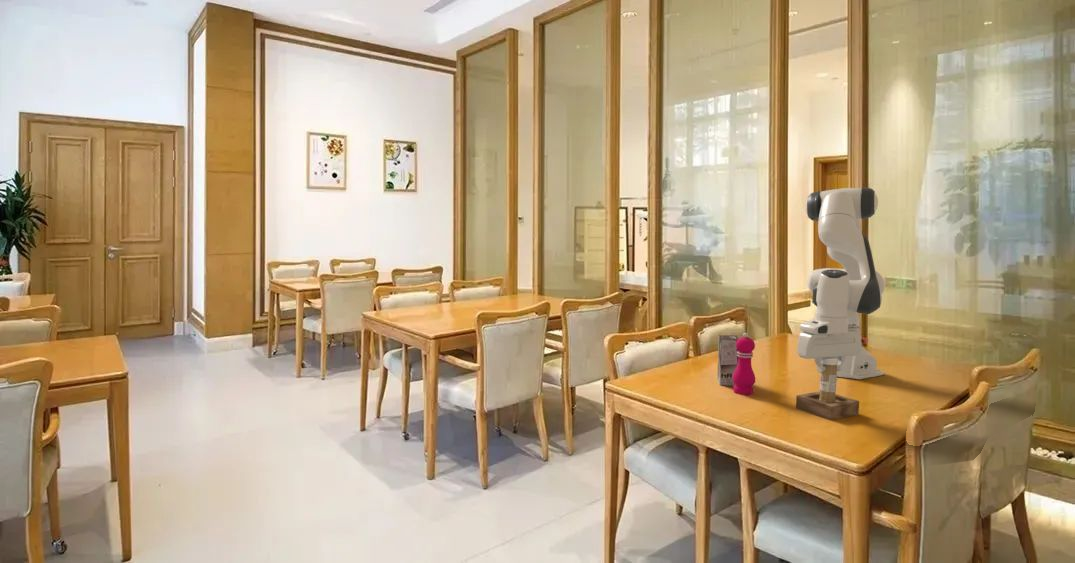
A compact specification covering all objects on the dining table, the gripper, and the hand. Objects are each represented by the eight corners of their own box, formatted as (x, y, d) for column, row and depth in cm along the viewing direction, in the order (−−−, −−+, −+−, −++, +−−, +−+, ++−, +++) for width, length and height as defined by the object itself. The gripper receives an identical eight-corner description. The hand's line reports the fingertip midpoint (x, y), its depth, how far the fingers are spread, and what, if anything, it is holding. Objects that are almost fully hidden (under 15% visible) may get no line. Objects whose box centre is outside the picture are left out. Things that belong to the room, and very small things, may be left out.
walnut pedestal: (823, 403, 187) (823, 390, 187) (858, 414, 177) (859, 401, 176) (795, 408, 182) (796, 395, 182) (830, 420, 171) (831, 406, 171)
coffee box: (738, 386, 206) (740, 340, 204) (719, 385, 207) (721, 339, 205) (735, 379, 215) (737, 335, 213) (716, 378, 216) (718, 334, 214)
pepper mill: (728, 389, 202) (730, 330, 200) (749, 388, 203) (751, 330, 201) (737, 395, 195) (739, 334, 193) (758, 395, 196) (761, 334, 194)
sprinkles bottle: (815, 399, 181) (817, 355, 180) (829, 398, 182) (831, 355, 180) (825, 404, 176) (827, 359, 175) (839, 403, 177) (841, 358, 176)
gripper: (851, 322, 183) (849, 366, 184) (795, 325, 177) (793, 371, 178) (868, 325, 177) (865, 371, 178) (810, 328, 171) (808, 376, 172)
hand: (828, 371), depth 178 cm, fingers closed on sprinkles bottle, 4 cm apart
